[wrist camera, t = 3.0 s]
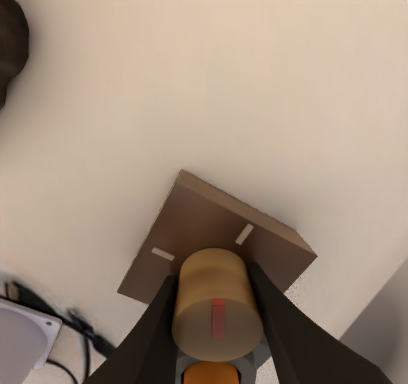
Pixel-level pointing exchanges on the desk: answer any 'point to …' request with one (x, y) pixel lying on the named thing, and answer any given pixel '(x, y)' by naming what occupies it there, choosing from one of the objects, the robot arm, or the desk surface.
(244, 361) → the switch block
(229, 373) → the power button
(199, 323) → the dimmer knob
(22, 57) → the owl
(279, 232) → the dimmer console
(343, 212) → the desk surface
